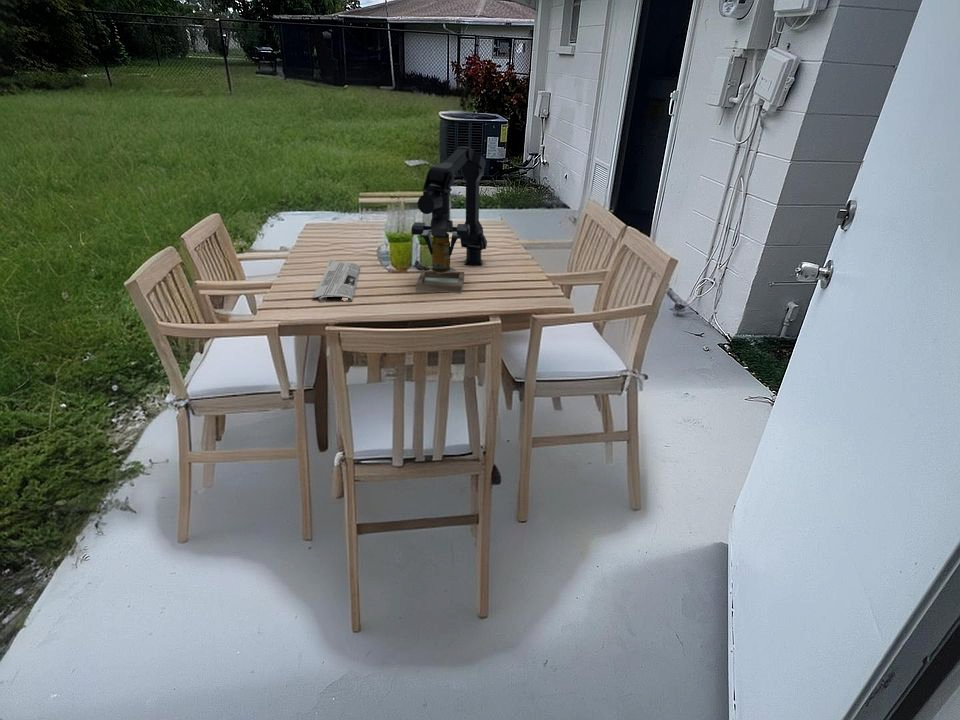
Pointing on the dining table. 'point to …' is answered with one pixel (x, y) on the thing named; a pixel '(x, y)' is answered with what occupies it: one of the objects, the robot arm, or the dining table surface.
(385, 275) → the dining table surface
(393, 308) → the dining table surface
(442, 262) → the condiment
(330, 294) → the newspaper
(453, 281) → the holder tray
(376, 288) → the dining table surface
